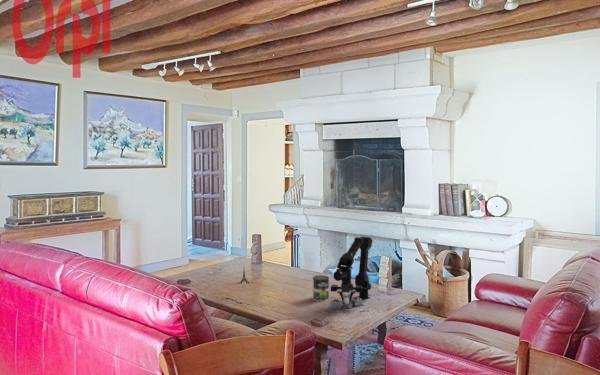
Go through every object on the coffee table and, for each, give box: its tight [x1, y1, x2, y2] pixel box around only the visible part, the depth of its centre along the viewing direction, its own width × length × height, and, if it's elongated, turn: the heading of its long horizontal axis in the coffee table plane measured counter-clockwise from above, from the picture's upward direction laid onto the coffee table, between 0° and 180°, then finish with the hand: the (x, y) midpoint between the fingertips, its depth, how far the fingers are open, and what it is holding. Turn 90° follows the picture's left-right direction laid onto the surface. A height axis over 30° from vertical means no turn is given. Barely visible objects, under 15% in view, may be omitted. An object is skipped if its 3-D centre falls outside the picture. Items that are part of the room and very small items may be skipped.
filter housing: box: [328, 297, 365, 311], centre depth 278 cm, size 8×21×4 cm, turn 112°
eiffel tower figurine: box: [240, 266, 249, 285], centre depth 332 cm, size 15×10×13 cm
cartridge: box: [343, 292, 350, 305], centre depth 278 cm, size 4×4×7 cm
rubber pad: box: [325, 309, 339, 315], centre depth 268 cm, size 6×6×1 cm
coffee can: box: [312, 274, 330, 302], centre depth 293 cm, size 10×10×14 cm
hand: (346, 302), depth 278 cm, fingers closed on cartridge, 4 cm apart
